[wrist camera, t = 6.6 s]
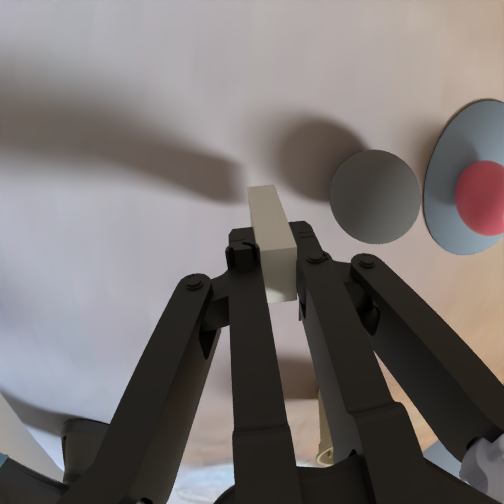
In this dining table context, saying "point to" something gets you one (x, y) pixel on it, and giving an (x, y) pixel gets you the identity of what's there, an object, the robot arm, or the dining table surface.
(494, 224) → the cranberry ball
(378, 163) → the grey ball
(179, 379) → the robot arm
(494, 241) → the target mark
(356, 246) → the dining table surface
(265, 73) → the dining table surface
